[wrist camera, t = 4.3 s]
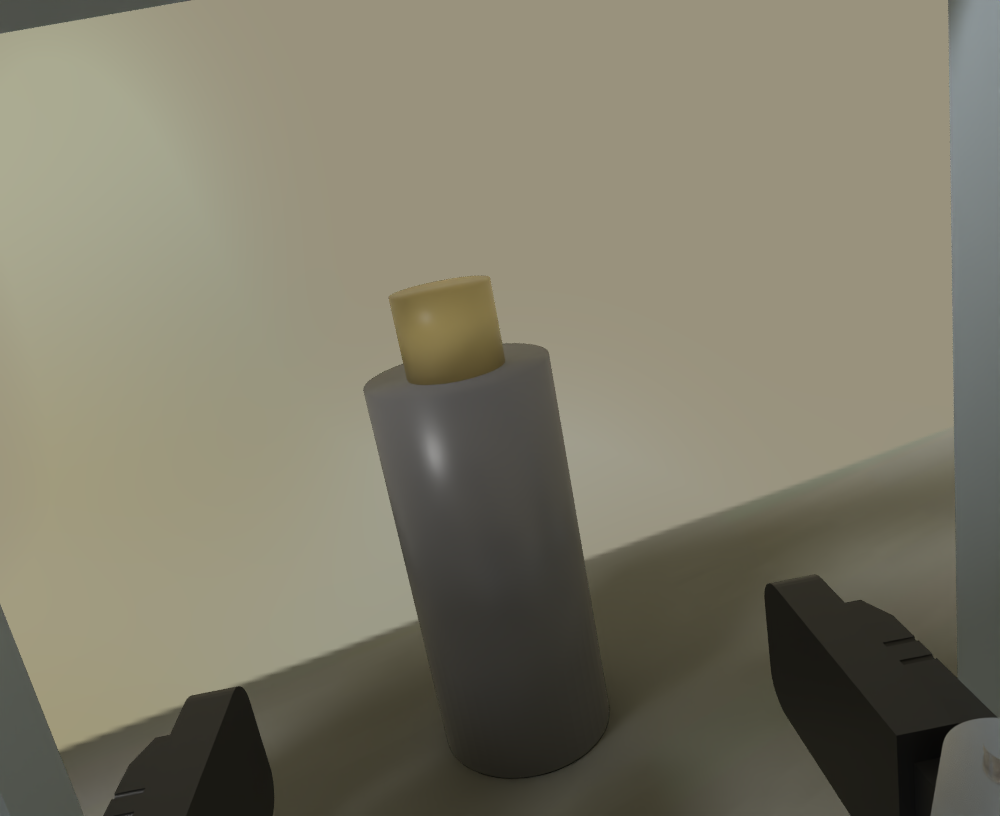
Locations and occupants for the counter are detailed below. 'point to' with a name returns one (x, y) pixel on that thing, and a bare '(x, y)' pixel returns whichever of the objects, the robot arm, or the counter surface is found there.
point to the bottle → (489, 533)
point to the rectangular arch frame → (977, 376)
